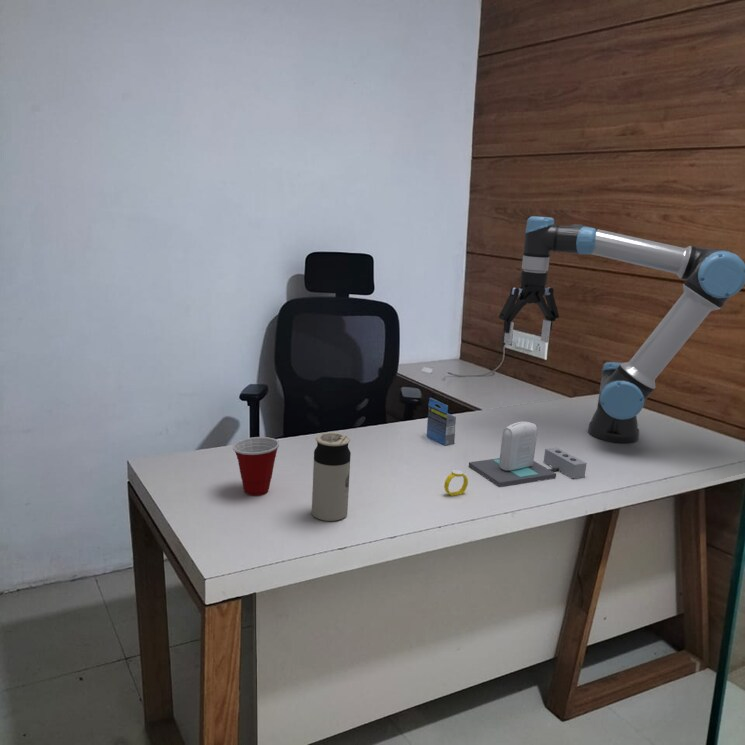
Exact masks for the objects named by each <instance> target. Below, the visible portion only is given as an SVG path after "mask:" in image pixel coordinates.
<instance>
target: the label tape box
mask: <svg viewBox="0 0 745 745" xmlns="http://www.w3.org/2000/svg"><path fill="white" fill-rule="evenodd" d="M428 400H429V401H428V406H427V409H428V411H427V424H426V437H427V438H429V439H431V440H433V441H435V442H437V443H439V444H441V445H444V446H450V445H453V444H455V440H456V424H457V422H456V421H457V416H455V415H452V413H451V414H450V413H448V410H449V405H447V404H445V403H443V402H440V401H439V400H437V399H435V398H432V397H429V399H428ZM436 405H438V406H439V407H438V406H436Z"/></svg>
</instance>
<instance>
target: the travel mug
mask: <svg viewBox="0 0 745 745" xmlns="http://www.w3.org/2000/svg"><path fill="white" fill-rule="evenodd" d="M315 441H316V442H317V443H316V445H317V446H316V448H314V451H313V470H312V491H311V492H312V494H311V514H312V516H313V517H315V518H316V519H319V520H321V521H326V522H334V521H335V522H336V521H339V520H342V519H344V518H346V517H347V516H348V512H349V511H348V508H349V492H350V491H349V490H350V488H349V487H350V472H351V471H350V470H351V455H352V454H351V449H349V443H350V442H351V438H350V436H348V435H347V434H344V433H339V432H333V431H332V432H323V433H320V434H317V436H316V437H315Z"/></svg>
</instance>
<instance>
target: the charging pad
mask: <svg viewBox="0 0 745 745" xmlns="http://www.w3.org/2000/svg"><path fill="white" fill-rule="evenodd" d="M499 460H500V457H499V458H498V457H497V458H490V459H483V460H482V459H481V460H477V461H476V460H475V461H469V462H468V468H470V467H471V468H470V469H471V470H473V469H474V470H473V471H475V472H476V471H477V472H476V473H478V474H479V473H480V474H479V475H480V476H482V475H483V476H482V477H483V478H485V477H486V478H485V479H487V480H488V479H489V480H488V481H490V482H491V483H492V482H493V483H492V484H494V485H495V484H496V485H495V486H496V487H499V488H502V487H507V486H508V487H509V486H514V485H520V484H521V483H522V484H528V483H533V481H534V482H539V481H538V480H541V481H545V480H544V479H547V480H551V479H550V478H553V479H556V478H557V473H556V472H555V471H553V472H552V471H551V470H549V469H550V468H547V467H545V466H543V465H542V464H540V463H538V462H537V461H535V460H534V462H533V465H532V466H529V467H524V468H520V469H515V470H508V471H506V470H503V469H501V468H500V466H499ZM555 477H556V478H555ZM527 482H528V483H527ZM522 484H521V485H522Z"/></svg>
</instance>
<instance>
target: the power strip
mask: <svg viewBox="0 0 745 745" xmlns="http://www.w3.org/2000/svg"><path fill="white" fill-rule="evenodd" d="M544 462H545V463H547V464H549V465H551V466H552V467H554V468H552V467H551V466H550V467H551V468H548V469H549V470H551V471H553V472H559V471H561V472H563V473H564V474H563V473H562V474H563V475H565V474H566V475H568V476H569V477H568V476H567V477H568V478H570V477H571V479H572V478H577V479H581V478H580V477H583V478H585V477H586V470H587V462H585V461H583V460H581V459H580V458H578V457H575V455H572V454H571V453H568V452H566V451H564V450H562V449H560V448H559V447H550V448H545V449H544V456H543V463H544ZM545 463H544V464H545ZM547 464H546V465H547ZM549 465H548V466H549ZM557 470H559V471H557ZM561 472H560V473H561ZM566 475H565V476H566Z"/></svg>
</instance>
